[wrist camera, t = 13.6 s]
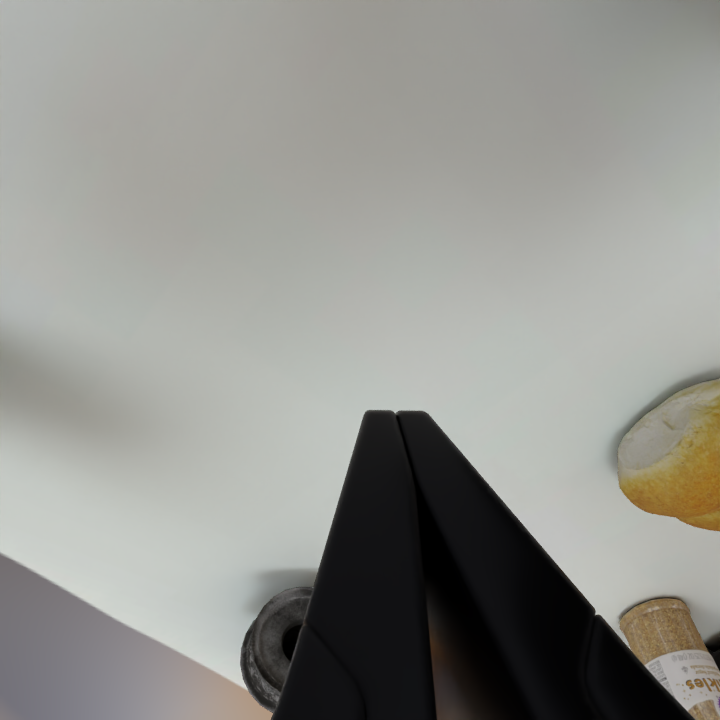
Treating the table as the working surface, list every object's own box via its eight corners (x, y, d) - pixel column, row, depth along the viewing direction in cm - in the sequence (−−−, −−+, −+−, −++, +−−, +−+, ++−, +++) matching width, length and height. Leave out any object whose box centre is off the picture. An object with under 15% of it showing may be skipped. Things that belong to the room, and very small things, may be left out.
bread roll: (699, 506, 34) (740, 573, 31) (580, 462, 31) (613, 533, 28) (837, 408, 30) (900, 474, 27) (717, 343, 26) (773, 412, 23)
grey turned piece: (314, 559, 34) (286, 620, 44) (221, 628, 31) (212, 678, 41) (384, 651, 32) (339, 694, 42) (292, 734, 29) (265, 761, 39)
